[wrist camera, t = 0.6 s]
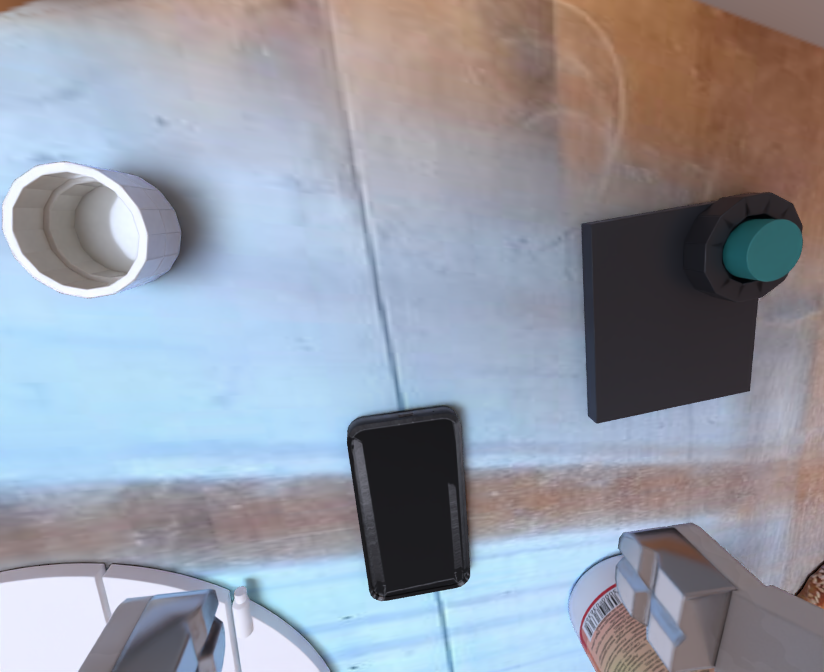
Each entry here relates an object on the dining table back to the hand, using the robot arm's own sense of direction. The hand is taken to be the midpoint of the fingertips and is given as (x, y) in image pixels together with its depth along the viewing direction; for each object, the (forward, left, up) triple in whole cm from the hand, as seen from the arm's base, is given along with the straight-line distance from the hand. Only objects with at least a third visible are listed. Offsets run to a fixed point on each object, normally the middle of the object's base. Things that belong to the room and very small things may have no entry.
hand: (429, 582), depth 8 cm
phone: (+14, 0, -20) cm, 24 cm away
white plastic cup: (-8, -13, -20) cm, 25 cm away
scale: (+3, +20, -20) cm, 28 cm away
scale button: (-1, +24, -17) cm, 29 cm away
